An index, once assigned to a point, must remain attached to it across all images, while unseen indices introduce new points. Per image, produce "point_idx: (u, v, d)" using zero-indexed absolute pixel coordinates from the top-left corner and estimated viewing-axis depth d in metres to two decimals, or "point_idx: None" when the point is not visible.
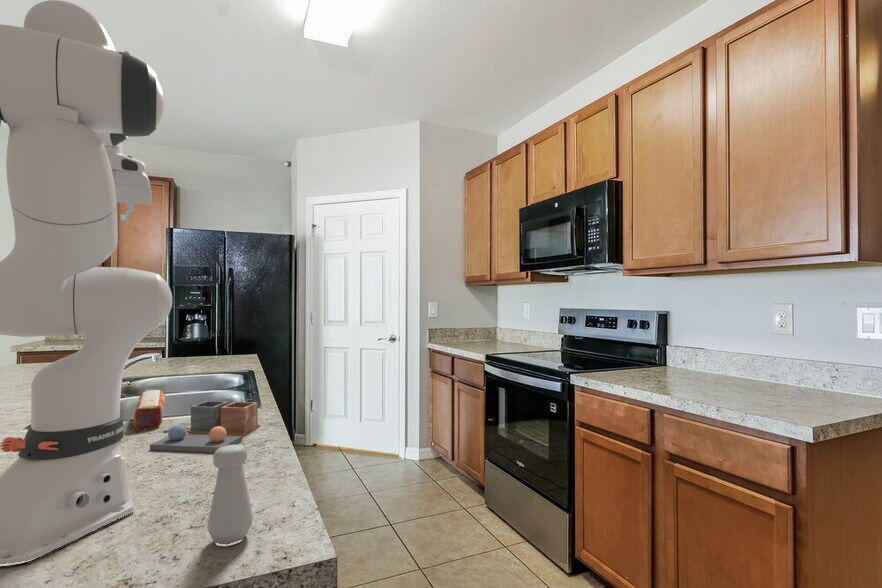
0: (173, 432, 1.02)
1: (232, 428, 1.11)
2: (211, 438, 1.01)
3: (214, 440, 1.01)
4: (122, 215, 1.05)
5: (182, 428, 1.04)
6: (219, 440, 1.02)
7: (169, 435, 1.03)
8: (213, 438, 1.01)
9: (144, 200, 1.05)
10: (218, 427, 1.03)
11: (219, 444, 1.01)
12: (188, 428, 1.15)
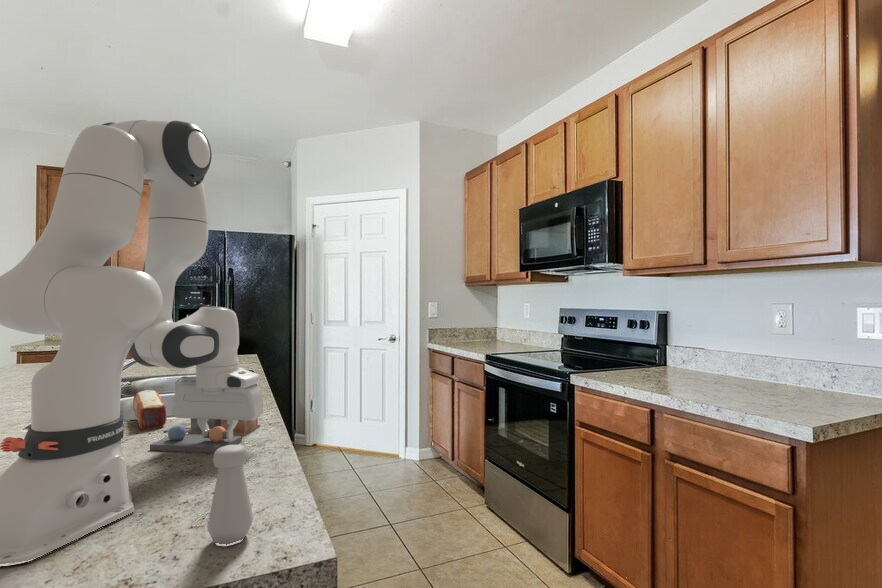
0: (173, 432, 1.02)
1: None
2: (211, 438, 1.01)
3: (214, 440, 1.01)
4: (224, 432, 1.02)
5: (182, 428, 1.04)
6: (219, 440, 1.02)
7: (169, 435, 1.03)
8: (213, 438, 1.01)
9: (248, 416, 1.00)
10: (218, 427, 1.03)
11: (219, 444, 1.01)
12: (188, 428, 1.15)
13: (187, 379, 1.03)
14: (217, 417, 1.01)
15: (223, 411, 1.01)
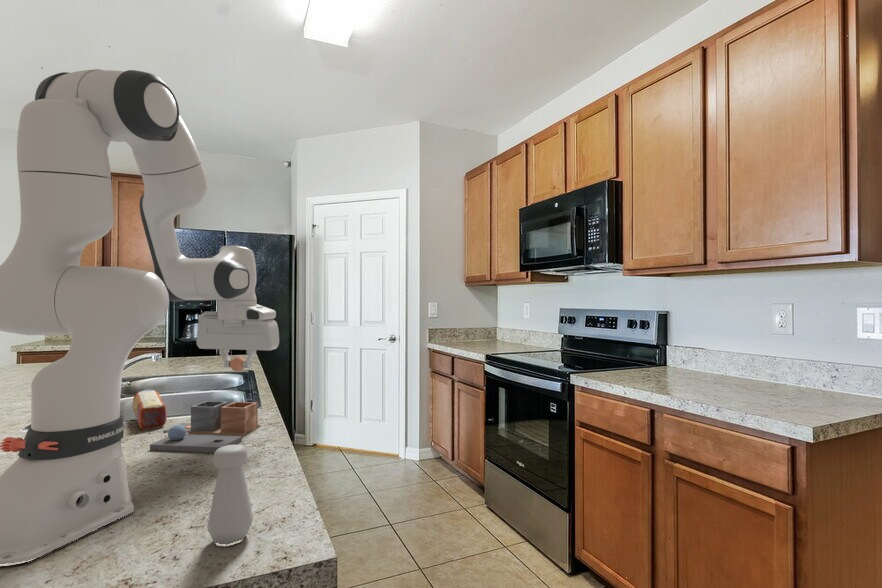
0: (173, 432, 1.02)
1: (232, 428, 1.11)
2: (232, 366, 1.11)
3: (235, 368, 1.11)
4: (244, 361, 1.11)
5: (182, 428, 1.04)
6: (239, 368, 1.11)
7: (169, 435, 1.03)
8: (234, 366, 1.11)
9: (266, 346, 1.09)
10: (238, 357, 1.12)
11: (219, 444, 1.01)
12: (188, 428, 1.15)
13: (209, 314, 1.13)
14: (237, 347, 1.10)
15: (243, 342, 1.10)
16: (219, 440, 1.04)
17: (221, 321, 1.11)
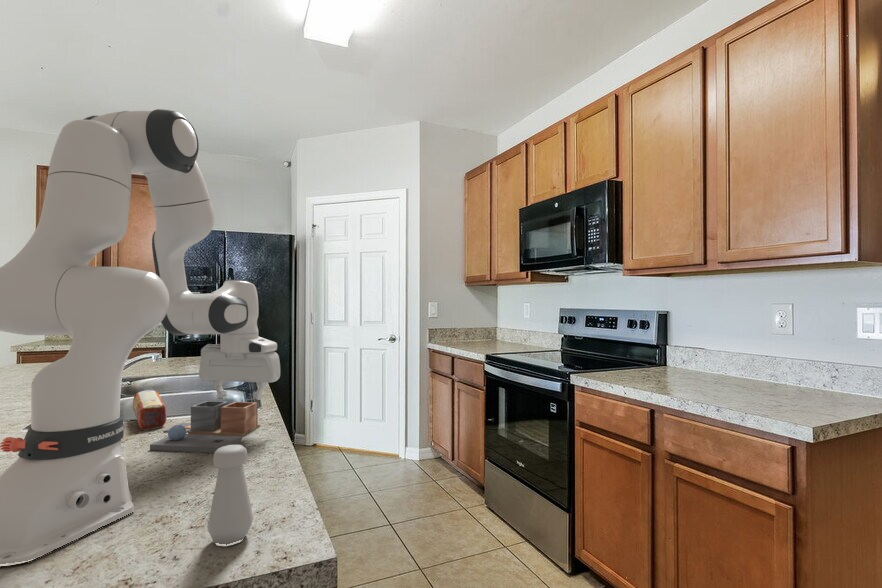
0: (173, 432, 1.02)
1: (232, 428, 1.11)
2: None
3: None
4: (254, 393, 1.13)
5: (182, 428, 1.04)
6: None
7: (169, 435, 1.03)
8: None
9: (268, 378, 1.12)
10: None
11: (219, 444, 1.01)
12: (188, 428, 1.15)
13: (212, 346, 1.15)
14: (239, 380, 1.13)
15: (245, 374, 1.12)
16: (219, 440, 1.04)
17: (223, 354, 1.13)
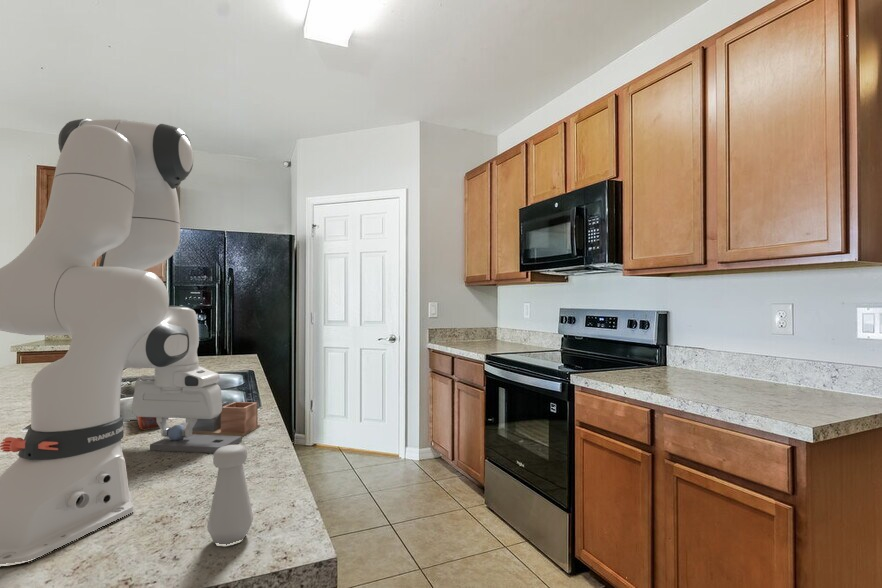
0: (173, 432, 1.02)
1: (232, 428, 1.11)
2: None
3: None
4: (183, 430, 1.03)
5: (182, 428, 1.04)
6: None
7: (169, 435, 1.03)
8: None
9: (206, 415, 1.01)
10: None
11: (219, 444, 1.01)
12: None
13: (147, 378, 1.04)
14: (176, 416, 1.02)
15: (181, 409, 1.02)
16: (219, 440, 1.04)
17: (158, 387, 1.03)
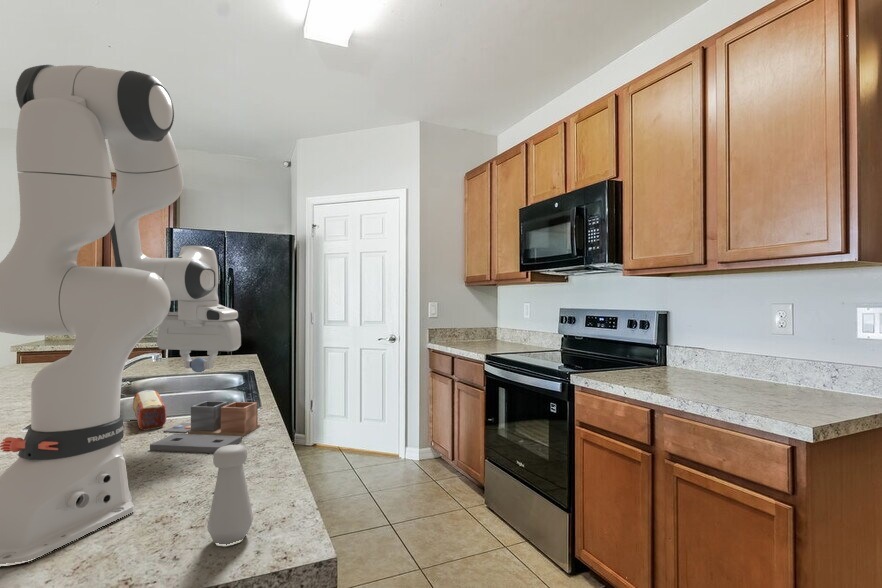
0: (196, 363, 1.10)
1: (232, 428, 1.11)
2: None
3: None
4: (205, 362, 1.11)
5: (204, 360, 1.11)
6: None
7: (192, 366, 1.10)
8: None
9: (227, 347, 1.09)
10: None
11: (219, 444, 1.01)
12: (188, 428, 1.15)
13: (170, 314, 1.12)
14: (198, 348, 1.10)
15: (203, 342, 1.09)
16: (219, 440, 1.04)
17: (182, 321, 1.10)
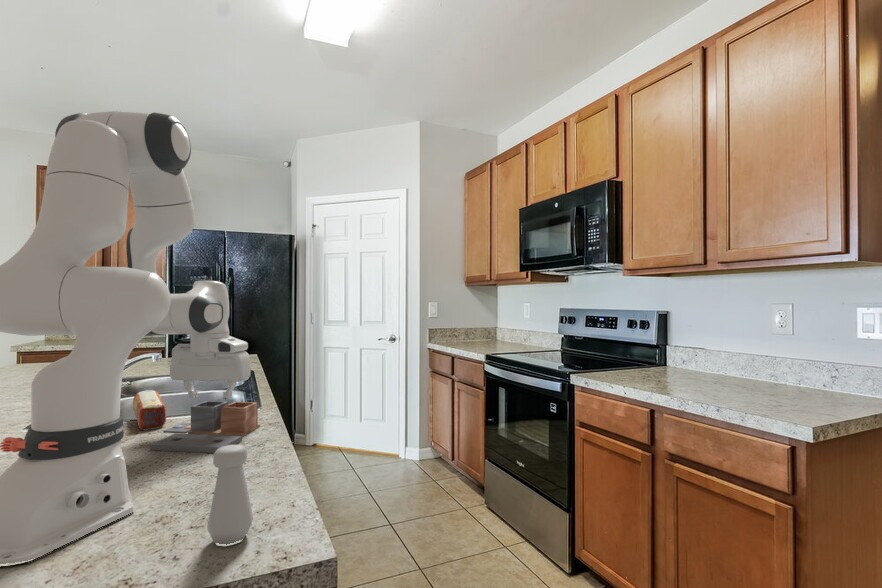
0: None
1: (232, 428, 1.11)
2: None
3: None
4: (224, 393, 1.14)
5: None
6: None
7: None
8: None
9: (237, 378, 1.13)
10: None
11: (219, 444, 1.01)
12: (188, 428, 1.15)
13: (183, 346, 1.16)
14: (209, 379, 1.14)
15: (215, 373, 1.13)
16: (219, 440, 1.04)
17: (194, 353, 1.14)
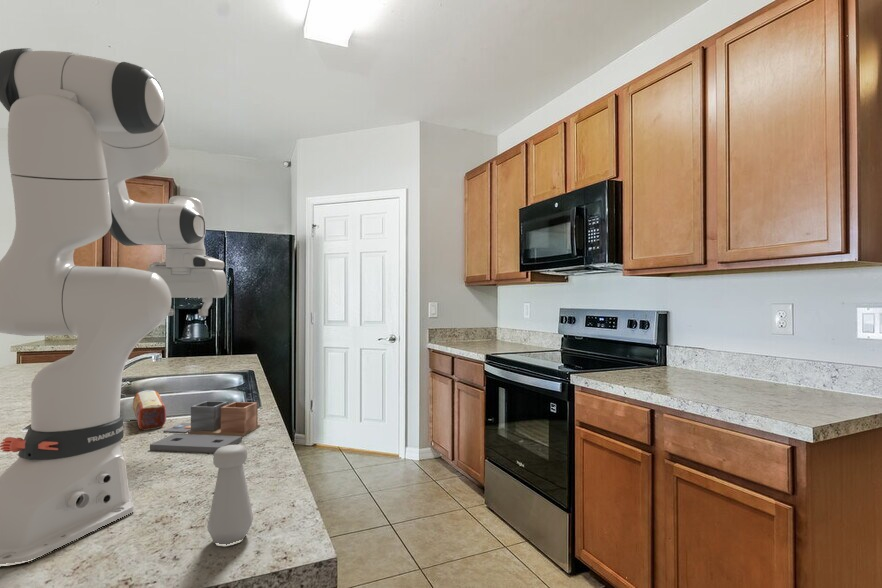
0: None
1: (232, 428, 1.11)
2: None
3: None
4: (200, 309, 1.14)
5: None
6: None
7: None
8: None
9: (212, 293, 1.12)
10: None
11: (219, 444, 1.01)
12: (188, 428, 1.15)
13: (158, 264, 1.16)
14: (185, 295, 1.13)
15: (190, 289, 1.13)
16: (219, 440, 1.04)
17: (169, 270, 1.14)
